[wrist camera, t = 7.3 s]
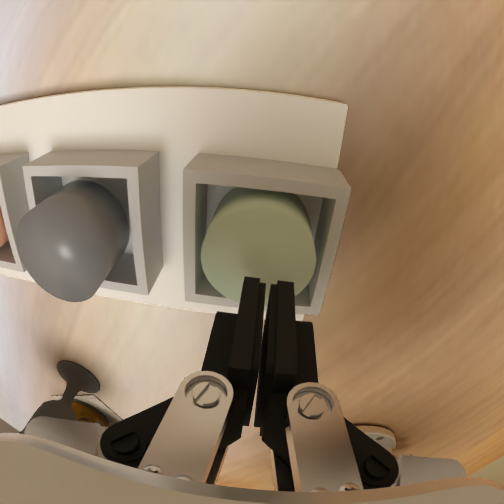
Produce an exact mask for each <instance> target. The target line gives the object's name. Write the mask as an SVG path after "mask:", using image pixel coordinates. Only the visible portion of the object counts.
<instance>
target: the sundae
mask: <svg viewBox="0 0 504 504" xmlns="http://www.w3.org/2000/svg"><path fill="white" fill-rule="evenodd" d="M57 370H58V372H59V374H60V375H61V377H62V378H63V379H64V380H65V381H66V382H67V386H66V390H65V392H64V394H63V396H62V398H61V399H60V400H51V401H47V402H44V403H43V404H42V405H41V406H40V407H39V408H38V409H37V411H36V412H35V413H34V415H33V416H32V418H31V419H30V420H29V422H30V421H31V420H32V419H34V418H36V417H40V416H46V417H52V418H58V419H65V420H72V421H78V419H77V417H76V414H75V412H74V411H73V409H72V402H73V400H74V398H75V396H76V395H77V393H78V392H79V391H83V392H87V393H96V392H98V391H99V390H100V384H99V382H98V380H97V379H96V378H95V377H94V376H93V375H92V374H91V373H90V372H89V371H88V370H86V369H85V368H83V367H82V366H80V365H78V364H76V363H73V362H70V361H60V362H59V363H58V364H57ZM29 422H28V423H29ZM28 423H27V424H28ZM26 426H27V425H26ZM26 426H25V428H26ZM25 428H24V429H23V431H21V432H20V433H19V434H24V431H25Z"/></svg>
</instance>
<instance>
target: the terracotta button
mask: <svg viewBox="0 0 504 504" xmlns="http://www.w3.org/2000/svg"><path fill="white" fill-rule="evenodd" d="M8 240H9V239H8V235H7V231H6V227H5V223H4V219H3V215H2V210H1V206H0V247H1V246H2V245H3V244H5V243H6V242H7V241H8Z"/></svg>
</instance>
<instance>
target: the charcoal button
mask: <svg viewBox="0 0 504 504" xmlns="http://www.w3.org/2000/svg"><path fill="white" fill-rule="evenodd" d="M129 234H130V233H129V223H128V220H127V216H126V214H125V211H124V209H123V208H122V206H121V204H120V203H119V201H118V200H117V199H116V198H115V196H114V195H113V194H112V193H111V192H110V191H108V190H107V189H106V188H104V187H103V186H101V185H99V184H97V183H95V182H92V181H88V180H76V181H72V182H70V183H68V184H66V185H64V186H63V187H61V188H60V189H59V190H57V191H56V192H54V193H53V194H52V195H50V196H49V197H47V198H46V199H45V200H43V201H42V202H40V203H39V204H38V205H36V206H35V207H34V208H32V209H31V210H30V211H28V212H27V213H26V214H25V215H24V216H23V217H22V219H21V220H20V222H19V224H18V228H17V234H16V242H17V248H18V252H19V255H20V258H21V260H22V263H23V265H24V266H25V268H26V270H27V271H28V273H29V274H30V276H31V277H32V278H33V279H34V280H35V282H36V283H37V284H38V285H39V286H41V287H42V288H43V289H44V290H45V291H47V292H48V293H50V294H51V295H53V296H55V297H57V298H59V299H62V300H65V301H70V302H81V301H85V300H87V299H89V298H91V297H92V296H93V295H94V294H95V293H96V292H97V290H98V289H99V287H100V286H101V284H102V283H103V281H104V280H105V278H106V277H107V275H108V274H109V273H110V271H111V270H112V268H113V267H114V265H115V264H116V263H117V261H118V260H119V258H120V257H121V256H122V254H123V253H124V251H125V250H126V248H127V245H128V242H129Z"/></svg>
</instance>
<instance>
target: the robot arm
mask: <svg viewBox="0 0 504 504" xmlns="http://www.w3.org/2000/svg"><path fill="white" fill-rule="evenodd" d="M265 291H266V283H261V282H260V278H255V277H247V276H244V281H243V287H242V292H241V298H240V303H239V309H238V314H235V313H227V312H220V311H217V312H216V316H215V319H214V323H213V327H212V331H211V335H210V339H209V343H208V347H207V351H206V354H205V358H204V362H203V366H202V370H201V371H199V372H195V373H192V374H190V375H189V376H187V377H186V378H184V380H183V381H182V382H181V384H180V386H179V388H178V390H177V392H176V394H175V396H174V397H172V398H170V399H168V400H166V401H164V402H161V403H159V404H157V405H155V406H153V407H151V408H149V409H146V410H144V411H142V412H140V413H138V414H135V415H133V416H131V417H129V418H126V419H124V420H122V421H119V422H117V423H115V424H113V425H111V426H110V427H102V426H100V425H99V423H89V422H80V421H72V420H65V419H58V418H52V417H46V416H40V417H36V418H34V419H32V420H31V421H30V422H29V423H28V424H27V426H26V428H25V431H24V434H19V433H0V504H504V486H503V485H501V484H500V483H497V482H495V481H492V480H488V479H483V478H475V477H466V473H465V469H464V467H463V466H462V464H461V463H459V462H458V461H457V460H453V459H443V458H429V457H418V456H412V455H402V456H400V457H395V455H393V454H392V451H393V450H394V448H395V446H396V441H395V436H394V434H393V433H392V432H391V431H390V430H388V429H385V428H383V427H377V426H366V425H362V426H354V425H353V424H352V423H350V422H349V421H348V420H347V419H345V418H344V417H343V414H342V410H341V407H340V404H339V400H338V398H337V396H336V394H335V393H334V392H333V391H332V390H331V389H330V388H328V387H326V386H325V385H322V384H319V383H318V376H317V364H316V353H315V342H314V332H313V324H312V322H305V321H296V316H295V294H294V282H289V281H280V280H278V281H277V284H271V286H270V293H269V299H268V305H267V312H266V318H265V324H264V330H263V336H262V329H263V317H264V304H265ZM261 342H262V343H261ZM258 373H259V376H258ZM257 379H258V388H257V399H256V410H255V421H254V427H260V436H262V441H263V442H264V443H265V444H266V445H267V446H268V447H269V448H270V458H271V466H272V475H273V483H274V491H268V490H255V489H244V488H235V487H227V486H219V485H216V482H217V479H218V476H219V473H220V471H221V468H222V465H223V462H224V459H225V456H226V453H227V450H228V445H230V444H232V443H233V442H235V441H236V440H238V439H240V438H241V433H242V426H249V422H250V417H251V412H252V406H253V401H254V396H255V390H256V385H257Z"/></svg>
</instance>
